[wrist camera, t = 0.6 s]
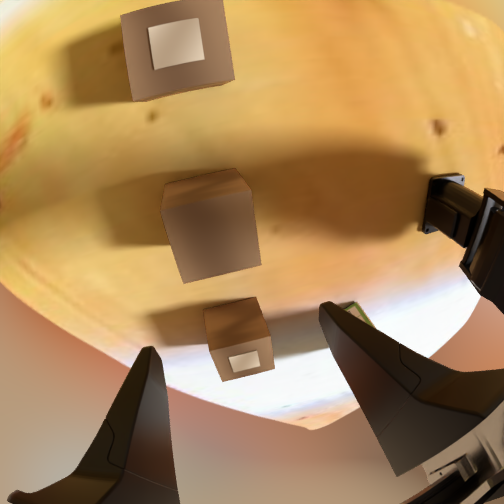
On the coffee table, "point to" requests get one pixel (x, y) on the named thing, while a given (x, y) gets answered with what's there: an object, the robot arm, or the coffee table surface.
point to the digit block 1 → (176, 48)
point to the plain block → (211, 225)
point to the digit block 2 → (238, 339)
